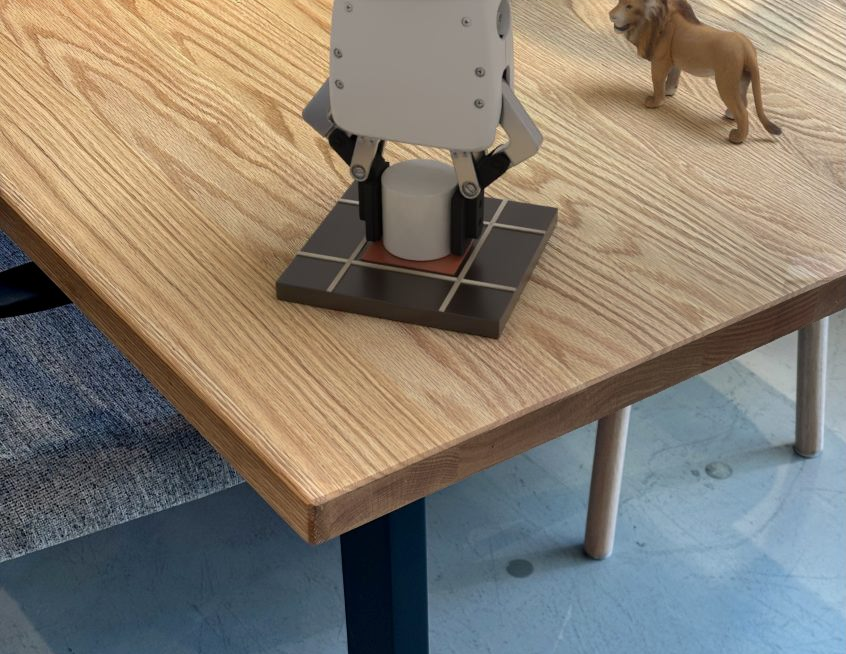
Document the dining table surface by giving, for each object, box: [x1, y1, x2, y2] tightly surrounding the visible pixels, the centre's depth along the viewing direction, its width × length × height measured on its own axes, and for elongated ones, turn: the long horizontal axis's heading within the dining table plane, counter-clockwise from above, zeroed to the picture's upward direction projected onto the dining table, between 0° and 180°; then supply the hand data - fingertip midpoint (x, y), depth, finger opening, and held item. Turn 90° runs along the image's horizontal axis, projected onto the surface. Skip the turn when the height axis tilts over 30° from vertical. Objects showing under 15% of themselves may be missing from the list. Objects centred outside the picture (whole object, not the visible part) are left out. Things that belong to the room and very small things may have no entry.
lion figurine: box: [608, 0, 783, 143], centre depth 96 cm, size 15×5×9 cm, turn 50°
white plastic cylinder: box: [381, 158, 458, 261], centre depth 81 cm, size 5×5×4 cm
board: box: [274, 179, 559, 339], centre depth 83 cm, size 14×14×1 cm
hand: (421, 235), depth 82 cm, fingers closed on white plastic cylinder, 4 cm apart
